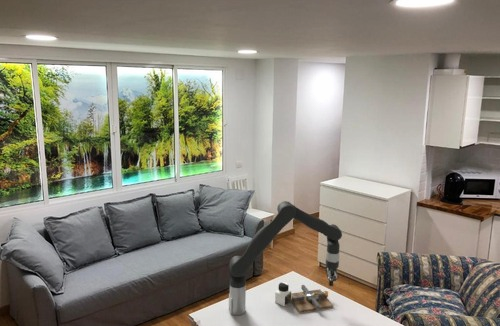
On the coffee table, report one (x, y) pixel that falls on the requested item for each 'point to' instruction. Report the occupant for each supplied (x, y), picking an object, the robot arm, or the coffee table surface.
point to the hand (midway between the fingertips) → (330, 285)
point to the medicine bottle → (283, 294)
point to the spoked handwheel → (310, 296)
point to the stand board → (310, 303)
